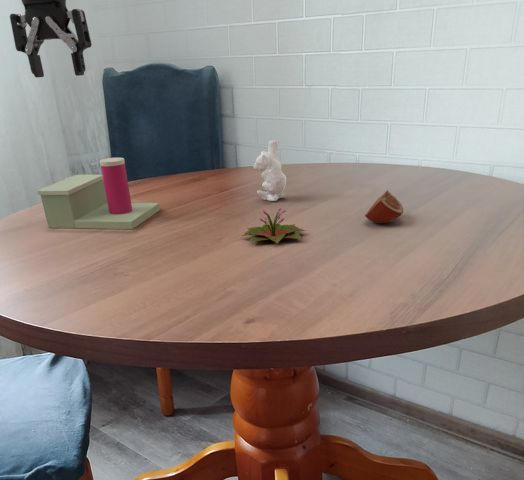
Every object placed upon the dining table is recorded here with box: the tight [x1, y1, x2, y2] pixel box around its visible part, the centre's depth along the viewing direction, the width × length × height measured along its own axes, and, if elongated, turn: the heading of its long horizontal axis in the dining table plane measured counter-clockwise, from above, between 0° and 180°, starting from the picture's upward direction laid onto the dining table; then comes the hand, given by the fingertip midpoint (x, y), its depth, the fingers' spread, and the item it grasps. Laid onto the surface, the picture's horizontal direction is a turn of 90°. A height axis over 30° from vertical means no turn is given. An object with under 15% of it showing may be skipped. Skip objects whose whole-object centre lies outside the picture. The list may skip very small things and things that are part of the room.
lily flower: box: [241, 208, 307, 245], centre depth 93 cm, size 12×12×5 cm
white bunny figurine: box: [253, 139, 288, 202], centre depth 115 cm, size 8×7×12 cm
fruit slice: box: [364, 189, 404, 224], centre depth 97 cm, size 8×7×5 cm
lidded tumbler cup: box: [99, 157, 132, 214], centre depth 107 cm, size 5×5×10 cm
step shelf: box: [36, 174, 161, 230], centre depth 109 cm, size 15×18×7 cm
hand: (59, 76), depth 102 cm, fingers open, 8 cm apart
